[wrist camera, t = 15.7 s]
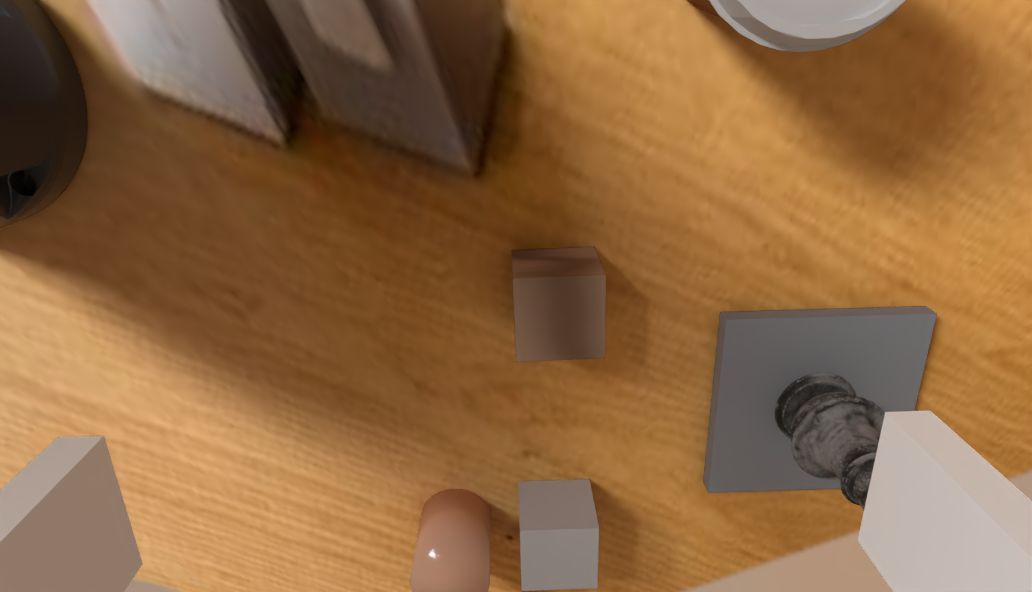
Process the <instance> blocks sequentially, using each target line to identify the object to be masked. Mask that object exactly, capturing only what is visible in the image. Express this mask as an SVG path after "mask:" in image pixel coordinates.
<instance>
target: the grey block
mask: <svg viewBox="0 0 1032 592" xmlns="http://www.w3.org/2000/svg"><path fill="white" fill-rule="evenodd" d="M518 494H519V529H520V559H521V589H522V591H538V590H568V589H597V585H598V549H599V525H598V520H597V515H596V510H595V504H594V499H593V494H592V489H591V484H590V479H573V480H543V481H518Z"/></svg>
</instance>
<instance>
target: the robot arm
mask: <svg viewBox="0 0 1032 592" xmlns="http://www.w3.org/2000/svg"><path fill="white" fill-rule="evenodd" d="M86 135H87V110H86V102H85V96H84V91H83V87H82V83H81V80H80V76H79V73H78V71H77V68H76V65H75V63H74V60H73V58H72V56H71V54H70V52H69V50H68V48H67V46H66V44H65V42H64V40H63V39H62V37H61V35H60V34H59V32H58V30H57V29H56V27H55V26H54V24H53V23H52V21H51V20H50V19H49V17H48V16H47V15H46V13H45V12H44V11H43V10H42V9H41V7H40V6H39V5H38V4H37V3H36V2H35V0H0V227H3V226H6V225H8V224H11V223H13V222H16V221H18V220H21V219H24V218H26V217H28V216H31V215H33V214H35V213H37V212H39V211H41V210H42V209H44V208H45V207H47V206H48V205H49V204H51V203H52V202H53V201H54V200H55V199H56V198H58V197H59V196H60V195H61V193H62V192H63V191H64V190H65V189H66V188H67V186H68V185H69V183H70V182H71V180H72V179H73V177H74V175H75V174H76V171H77V169H78V167H79V165H80V162H81V159H82V156H83V152H84V148H85V142H86ZM858 542H859V543H860V545H861V546H862V548H863V549H864V551H865V552H866V553H867V555H868V556H869V558H870V559H871V561H872V562H873V564H874V565H875V567H876V568H877V569H878V571H879V572H880V574H881V575H882V577H883V578H884V580H885V581H886V582H887V584H888V585H889V587H890V588H891V590H892V591H893V592H1032V501H1031V500H1030V499H1029V498H1028V497H1027V496H1025V495H1024V494H1023V493H1022V492H1021V491H1020V490H1019V489H1018V488H1017V487H1015V486H1014V485H1013V484H1012V483H1011V482H1010V481H1009V480H1008V479H1006V478H1005V477H1004V476H1003V475H1002V474H1001V473H1000V472H999V471H997V470H996V469H995V468H994V467H993V466H992V465H991V464H990V463H989V462H987V461H986V460H985V459H984V458H983V457H982V456H981V455H980V454H978V453H977V452H976V451H975V450H974V449H973V448H972V447H971V446H969V445H968V444H967V443H966V442H965V441H964V440H963V439H962V438H961V437H959V436H958V435H957V434H956V433H955V432H954V431H953V430H952V429H950V428H949V427H948V426H947V425H946V424H945V423H944V422H943V421H941V420H940V419H939V418H938V417H937V416H936V415H935V414H934V413H932V412H931V411H900V412H885V416H884V420H883V425H882V429H881V434H880V439H879V443H878V448H877V453H876V457H875V462H874V467H873V471H872V476H871V481H870V485H869V490H868V494H867V499H866V504H865V508H864V513H863V518H862V522H861V527H860V532H859V536H858ZM141 565H142V560H141V557H140V554H139V550H138V547H137V544H136V540H135V537H134V534H133V530H132V527H131V524H130V520H129V517H128V514H127V511H126V507H125V504H124V501H123V497H122V494H121V491H120V487H119V484H118V481H117V477H116V474H115V471H114V467H113V464H112V461H111V457H110V454H109V451H108V448H107V444H106V441H105V438H104V436H81V437H58V438H56V439H55V440H54V441H53V442H52V443H51V444H50V445H49V446H48V447H47V448H46V449H44V450H43V451H42V452H41V453H40V454H39V455H38V456H37V457H36V458H35V459H34V460H33V461H31V462H30V463H29V464H28V465H27V466H26V467H25V468H24V469H23V470H22V471H21V472H20V473H18V474H17V475H16V476H15V477H14V478H13V479H12V480H11V481H10V482H9V483H8V484H6V485H5V486H4V487H3V488H2V489H1V490H0V592H124V591H125V589H126V588H127V586H128V585H129V583H130V582H131V580H132V579H133V577H134V576H135V574H136V573H137V571H138V570H139V568H140V567H141Z"/></svg>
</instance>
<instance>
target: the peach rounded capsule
mask: <svg viewBox="0 0 1032 592" xmlns="http://www.w3.org/2000/svg"><path fill="white" fill-rule="evenodd" d="M490 548H491V512H490V509H489V507H488V505H487V504H486V502H485V501H484V500H483V499H482V498H481V497H479V496H478V495H476V494H474V493H472V492H470V491H467V490H462V489H450V490H445V491H442V492H439V493H437V494H435V495H434V496H432V497H431V498H430V499H429V500H428V501H427V502H426V503H425V505H424V507H423V509H422V513H421V519H420V524H419V530H418V536H417V542H416V548H415V553H414V559H413V565H412V571H411V577H410V585H411V589H412V591H413V592H488V589H489V584H490Z"/></svg>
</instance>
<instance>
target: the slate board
mask: <svg viewBox="0 0 1032 592" xmlns="http://www.w3.org/2000/svg"><path fill="white" fill-rule="evenodd" d="M936 316H937V313H935V312H934V311H932V310H931V309H929V308H928V307H926V306H911V307H876V308H842V309H807V310H773V311H738V312H720V320H719V330H718V340H717V350H716V360H715V370H714V380H713V389H712V399H711V409H710V419H709V429H708V439H707V449H706V459H705V469H704V479H703V482H704V485H705V487H706V489H707V491H708V493H719V492H751V491H782V490H814V489H841V487H840V483H841V481H840V480H839V479H836V480H828V479H820V478H817V477H814V476H811V475H809V474H808V473H806V472H805V471H804V470H802V469H801V468H800V467H799V465H798V464H797V462H796V461H795V460H794V456H793V453H792V450H791V449H792V442H791V439H789V438H788V437H786V436H785V435H784V434H783V433H782V432H781V430H780V429H779V428H778V426H777V423H776V420H775V407H776V404H777V401H778V399H779V397H780V395H781V394H782V392H783V391H784V390H785V389H786V388H787V387H788V386H789V385H790V384H791V383H793V382H794V381H796V380H797V379H799V378H801V377H804V376H806V375H809V374H813V373H821V372H823V373H832V374H835V375H838V376H840V377H842V378H844V379H845V380H846V381H847V382H849V383H850V384H851V386H852V387H853V389H854V390H855V393H856V396H857V397H861V398H864V399H867V400H870V401H872V402H874V403H875V404H876V405H878V406H879V407H880V408H882V409H883V411H884V413H885V412H900V411H914V410H915V406H916V401H917V397H918V393H919V388H920V384H921V380H922V376H923V371H924V367H925V363H926V359H927V354H928V350H929V346H930V342H931V337H932V333H933V329H934V324H935V320H936Z"/></svg>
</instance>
